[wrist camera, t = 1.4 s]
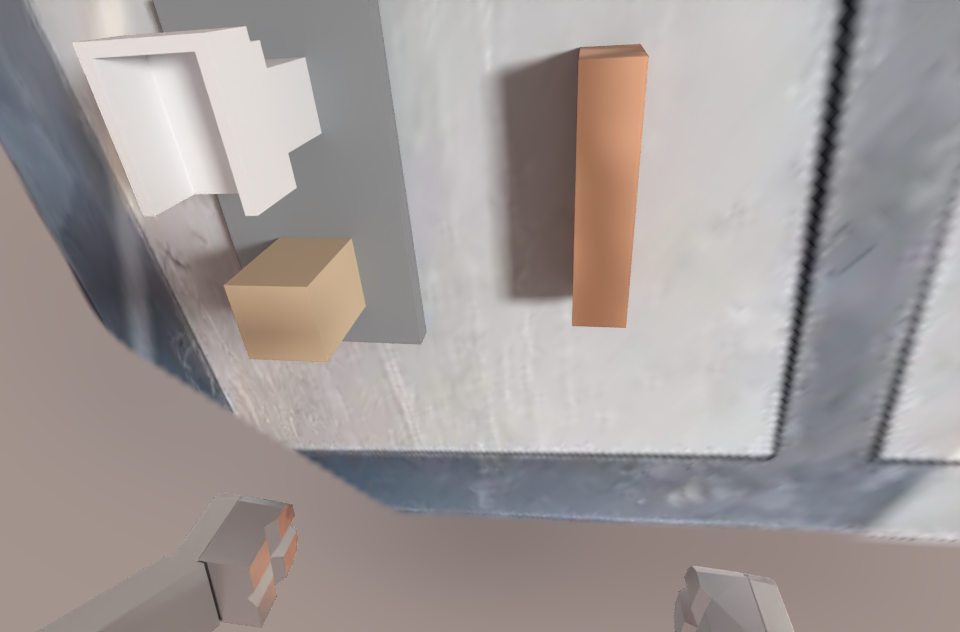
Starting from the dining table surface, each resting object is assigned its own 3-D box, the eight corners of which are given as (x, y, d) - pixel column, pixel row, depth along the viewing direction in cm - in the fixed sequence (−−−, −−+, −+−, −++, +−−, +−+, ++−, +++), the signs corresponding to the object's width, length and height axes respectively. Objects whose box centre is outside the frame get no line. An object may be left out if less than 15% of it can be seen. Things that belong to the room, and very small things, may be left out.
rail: (640, 43, 28) (648, 56, 24) (621, 285, 35) (625, 327, 31) (580, 46, 29) (578, 59, 24) (574, 284, 36) (572, 325, 32)
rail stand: (373, -26, 28) (267, -25, 19) (426, 332, 40) (375, 441, 31) (168, -8, 31) (-15, 1, 21) (274, 327, 42) (184, 426, 33)
